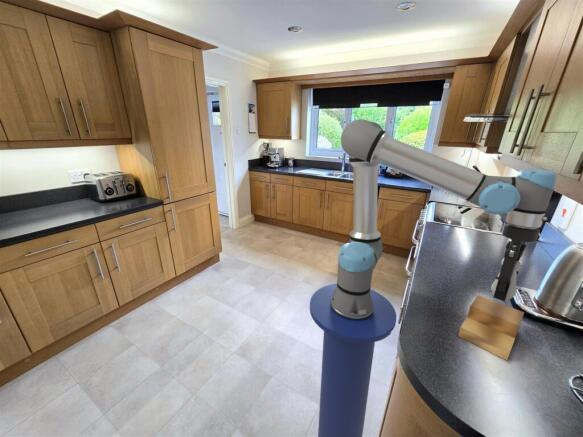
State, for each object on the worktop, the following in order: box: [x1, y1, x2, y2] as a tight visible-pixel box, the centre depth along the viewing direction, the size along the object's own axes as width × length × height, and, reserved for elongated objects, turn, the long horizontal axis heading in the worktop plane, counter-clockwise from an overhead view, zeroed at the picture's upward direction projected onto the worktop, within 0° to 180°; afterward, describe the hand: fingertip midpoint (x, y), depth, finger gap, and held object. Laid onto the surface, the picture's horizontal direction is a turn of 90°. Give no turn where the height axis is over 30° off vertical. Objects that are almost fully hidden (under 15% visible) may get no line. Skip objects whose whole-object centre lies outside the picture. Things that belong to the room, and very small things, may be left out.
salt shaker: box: [490, 258, 522, 302], centre depth 74 cm, size 6×6×13 cm
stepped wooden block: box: [457, 294, 525, 361], centre depth 76 cm, size 12×16×8 cm
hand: (501, 294), depth 76 cm, fingers closed on salt shaker, 6 cm apart
